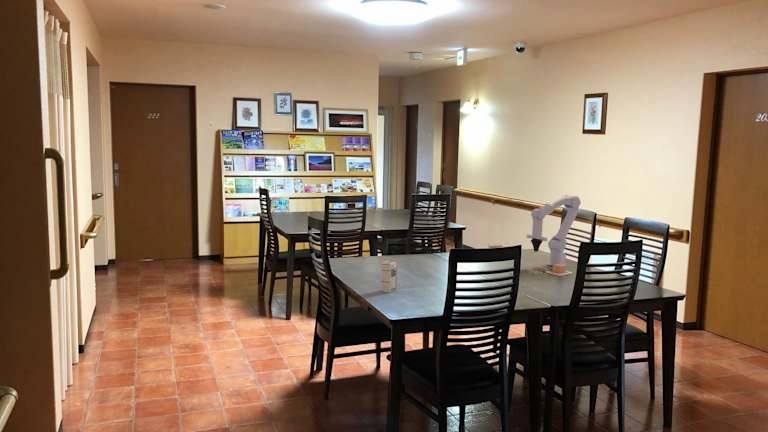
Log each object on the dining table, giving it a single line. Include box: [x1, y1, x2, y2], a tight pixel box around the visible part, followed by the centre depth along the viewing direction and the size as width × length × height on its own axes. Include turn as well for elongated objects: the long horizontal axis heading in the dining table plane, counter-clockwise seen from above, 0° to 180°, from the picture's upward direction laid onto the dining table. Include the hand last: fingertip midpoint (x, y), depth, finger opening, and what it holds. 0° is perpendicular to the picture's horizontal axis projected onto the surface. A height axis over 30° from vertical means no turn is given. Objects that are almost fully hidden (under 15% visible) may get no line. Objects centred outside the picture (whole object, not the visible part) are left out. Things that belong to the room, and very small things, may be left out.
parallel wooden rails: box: [532, 264, 553, 273], centre depth 370 cm, size 8×11×2 cm
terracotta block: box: [552, 264, 567, 274], centre depth 362 cm, size 5×5×5 cm
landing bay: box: [545, 270, 574, 277], centre depth 362 cm, size 11×10×1 cm
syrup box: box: [380, 260, 398, 293], centre depth 308 cm, size 6×6×14 cm
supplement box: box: [487, 243, 504, 249], centre depth 376 cm, size 8×5×13 cm, turn 84°
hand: (536, 251), depth 378 cm, fingers closed
